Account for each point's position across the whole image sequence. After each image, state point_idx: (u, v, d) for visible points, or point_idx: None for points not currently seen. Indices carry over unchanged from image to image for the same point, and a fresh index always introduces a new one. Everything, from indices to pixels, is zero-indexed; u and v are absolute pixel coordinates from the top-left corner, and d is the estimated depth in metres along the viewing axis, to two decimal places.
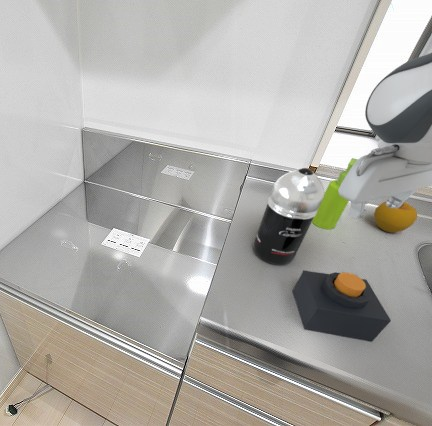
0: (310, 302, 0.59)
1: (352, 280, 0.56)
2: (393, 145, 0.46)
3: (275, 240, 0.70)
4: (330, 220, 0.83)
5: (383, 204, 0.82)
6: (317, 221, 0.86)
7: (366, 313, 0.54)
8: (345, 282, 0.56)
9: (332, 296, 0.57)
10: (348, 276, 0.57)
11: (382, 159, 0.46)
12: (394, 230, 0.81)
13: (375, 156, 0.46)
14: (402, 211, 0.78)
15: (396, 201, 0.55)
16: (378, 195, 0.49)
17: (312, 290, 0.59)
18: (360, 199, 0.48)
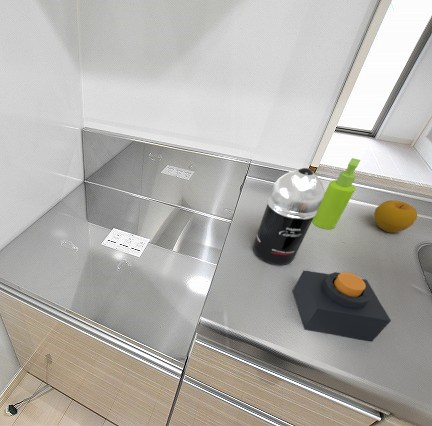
0: (310, 302, 0.59)
1: (352, 280, 0.56)
2: None
3: (275, 240, 0.70)
4: (330, 220, 0.83)
5: (383, 204, 0.82)
6: (317, 221, 0.86)
7: (366, 313, 0.54)
8: (345, 282, 0.56)
9: (332, 296, 0.57)
10: (348, 276, 0.57)
11: None
12: (394, 230, 0.81)
13: None
14: (402, 211, 0.78)
15: None
16: None
17: (312, 290, 0.59)
18: None
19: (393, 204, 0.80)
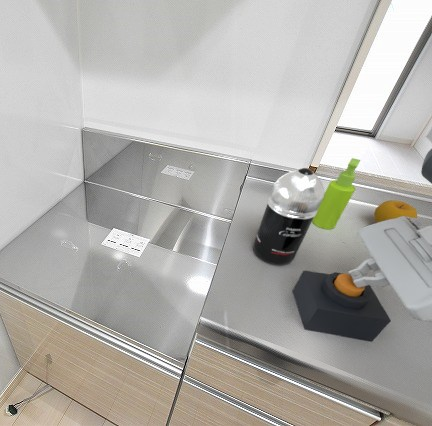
0: (310, 302, 0.59)
1: (351, 281, 0.56)
2: None
3: (275, 240, 0.70)
4: (330, 220, 0.83)
5: (383, 204, 0.82)
6: (317, 221, 0.86)
7: (366, 313, 0.54)
8: (344, 284, 0.56)
9: (332, 296, 0.57)
10: (347, 277, 0.57)
11: (408, 226, 0.54)
12: None
13: (409, 221, 0.55)
14: (402, 211, 0.78)
15: None
16: (370, 244, 0.56)
17: (312, 290, 0.59)
18: (361, 230, 0.59)
19: (393, 204, 0.80)
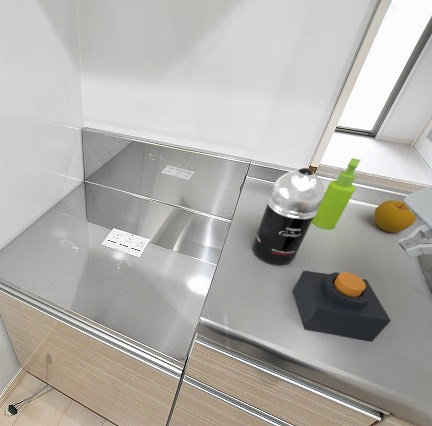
0: (310, 302, 0.59)
1: (352, 280, 0.56)
2: None
3: (275, 240, 0.70)
4: (330, 220, 0.83)
5: (383, 204, 0.82)
6: (317, 221, 0.86)
7: (366, 313, 0.54)
8: (345, 282, 0.56)
9: (332, 296, 0.57)
10: (348, 276, 0.57)
11: None
12: (394, 230, 0.81)
13: None
14: (402, 211, 0.78)
15: None
16: (422, 209, 0.50)
17: (312, 290, 0.59)
18: (409, 196, 0.53)
19: (393, 204, 0.80)
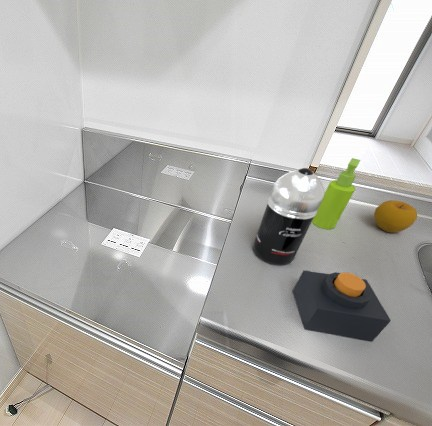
0: (310, 302, 0.59)
1: (352, 280, 0.56)
2: None
3: (275, 240, 0.70)
4: (330, 220, 0.83)
5: (383, 204, 0.82)
6: (317, 221, 0.86)
7: (366, 313, 0.54)
8: (345, 282, 0.56)
9: (332, 296, 0.57)
10: (348, 276, 0.57)
11: None
12: (394, 230, 0.81)
13: None
14: (402, 211, 0.78)
15: None
16: None
17: (312, 290, 0.59)
18: None
19: (393, 204, 0.80)
